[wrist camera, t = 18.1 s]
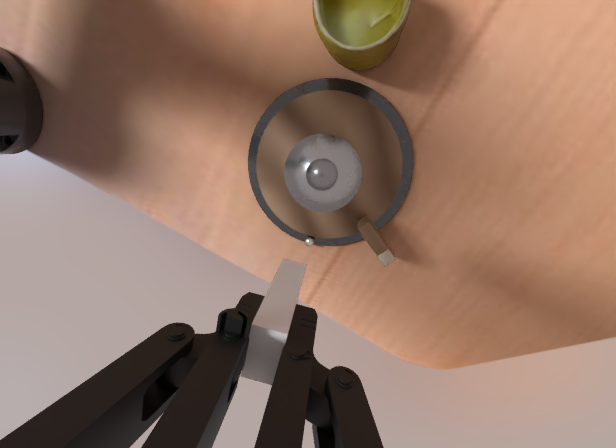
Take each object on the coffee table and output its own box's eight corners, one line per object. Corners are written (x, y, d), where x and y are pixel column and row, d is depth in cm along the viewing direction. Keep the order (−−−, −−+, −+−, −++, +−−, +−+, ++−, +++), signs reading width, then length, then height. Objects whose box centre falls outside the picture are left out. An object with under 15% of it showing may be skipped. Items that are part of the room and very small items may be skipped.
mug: (423, 66, 33) (410, 23, 24) (339, 90, 38) (303, 62, 29) (415, -48, 32) (399, -135, 24) (330, -9, 37) (290, -69, 28)
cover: (344, 215, 39) (342, 225, 34) (283, 189, 40) (272, 196, 35) (372, 150, 36) (375, 151, 31) (306, 123, 37) (298, 120, 32)
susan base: (238, 224, 44) (235, 227, 42) (264, 61, 37) (261, 59, 36) (382, 262, 42) (384, 266, 41) (436, 100, 36) (440, 99, 34)
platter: (331, 283, 44) (329, 299, 39) (230, 153, 40) (216, 155, 36) (448, 212, 38) (461, 221, 34) (344, 55, 35) (344, 44, 31)
